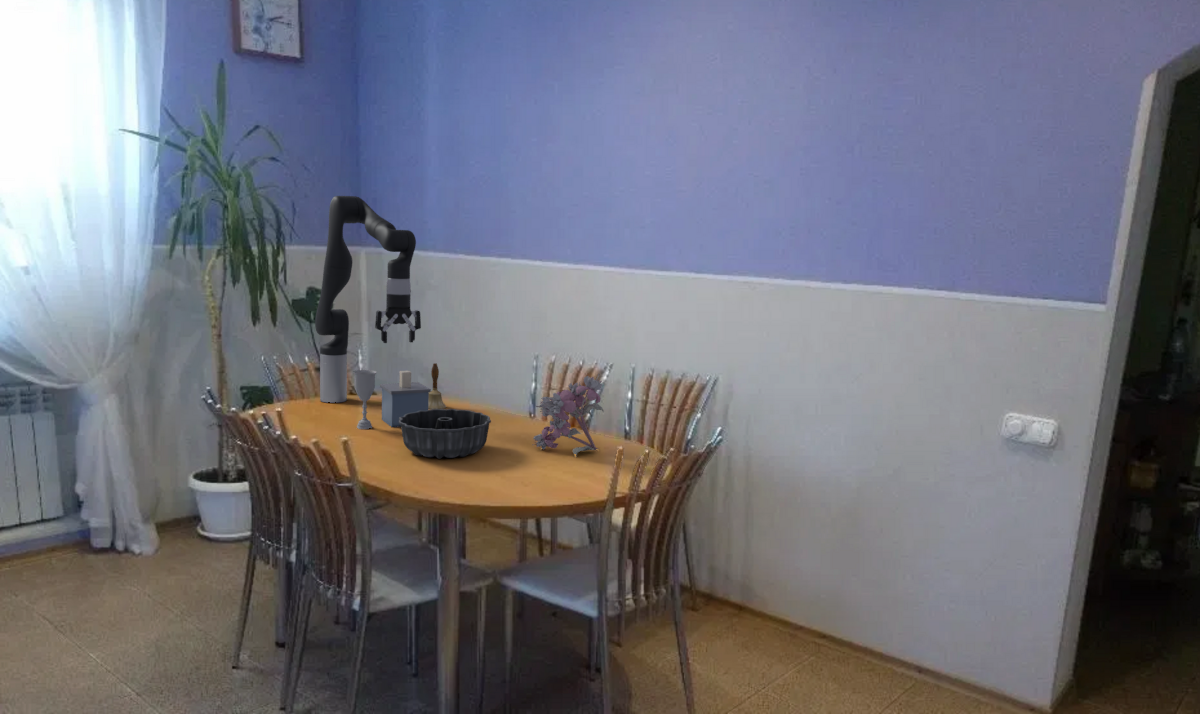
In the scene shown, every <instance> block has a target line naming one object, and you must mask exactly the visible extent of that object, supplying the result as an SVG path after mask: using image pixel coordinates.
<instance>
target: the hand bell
mask: <svg viewBox="0 0 1200 714" xmlns="http://www.w3.org/2000/svg"><path fill="white" fill-rule="evenodd" d="M439 370H440V369H439V366H438V364H437V363H432V367H431V371H430V372H431V379H432V389H431V392H429V402H428V410H433V409H446V408H447V405H446V404H445V403H444V400H443V397H442V392H441V391H440V390H438V379H439V372H440V371H439Z"/></svg>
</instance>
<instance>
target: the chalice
mask: <svg viewBox="0 0 1200 714" xmlns="http://www.w3.org/2000/svg"><path fill="white" fill-rule="evenodd" d="M352 372H353V374H354V389H355V392H356V394H357V396H358V397H359V400H360V401H362V406H361V407H362V412H361V413H362V418H361V419H360V420H358V423H357V425H356V427H357V428H358V429H359V430H370V429H369V428H371V429H372V427H373V425H372V423H371V420H369V419H368V418H367V413H368V411H367V408H368V406H367V401H369V400H370V399H371V397H372V395H373V393H374V391H375V387H376V374H377V370H371V369H370V370H369V369H368V370H367V369H361V370H359V369H358V370H353V371H352ZM357 428H356V429H357ZM358 429H357V430H358Z"/></svg>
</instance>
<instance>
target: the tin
mask: <svg viewBox="0 0 1200 714" xmlns="http://www.w3.org/2000/svg"><path fill="white" fill-rule="evenodd" d="M428 402H429V392H426V393H408V394H390V393H388V392H387V391H385V390H384V389H382V388H381V421H383V422H384V423H385V424H386V425H388V426H389V427H390V426H391V427H390V428H392V427H394V428H401V425H400V424H399V417H403V416H404V415H405V414H408V413H413V412H418V411H427V410H429V409H428Z"/></svg>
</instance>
